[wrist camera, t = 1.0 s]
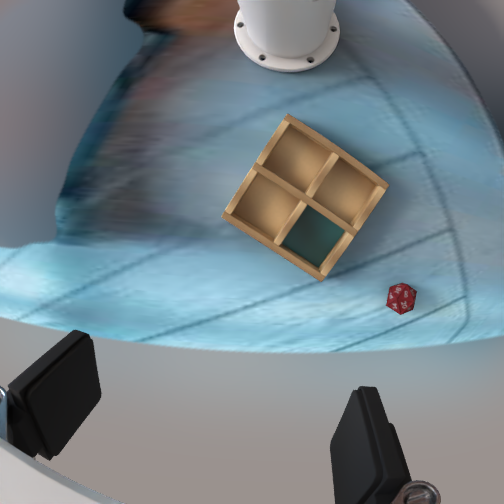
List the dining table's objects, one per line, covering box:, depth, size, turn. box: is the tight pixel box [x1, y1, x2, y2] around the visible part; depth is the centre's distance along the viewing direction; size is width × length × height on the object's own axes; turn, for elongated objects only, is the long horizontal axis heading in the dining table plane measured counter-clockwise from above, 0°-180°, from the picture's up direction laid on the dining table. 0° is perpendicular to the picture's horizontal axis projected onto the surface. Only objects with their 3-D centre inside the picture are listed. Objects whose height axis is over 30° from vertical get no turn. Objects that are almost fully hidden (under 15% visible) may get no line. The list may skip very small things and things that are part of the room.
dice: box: [386, 283, 417, 315], centre depth 35 cm, size 4×4×4 cm
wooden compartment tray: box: [221, 114, 389, 282], centre depth 34 cm, size 14×14×3 cm
